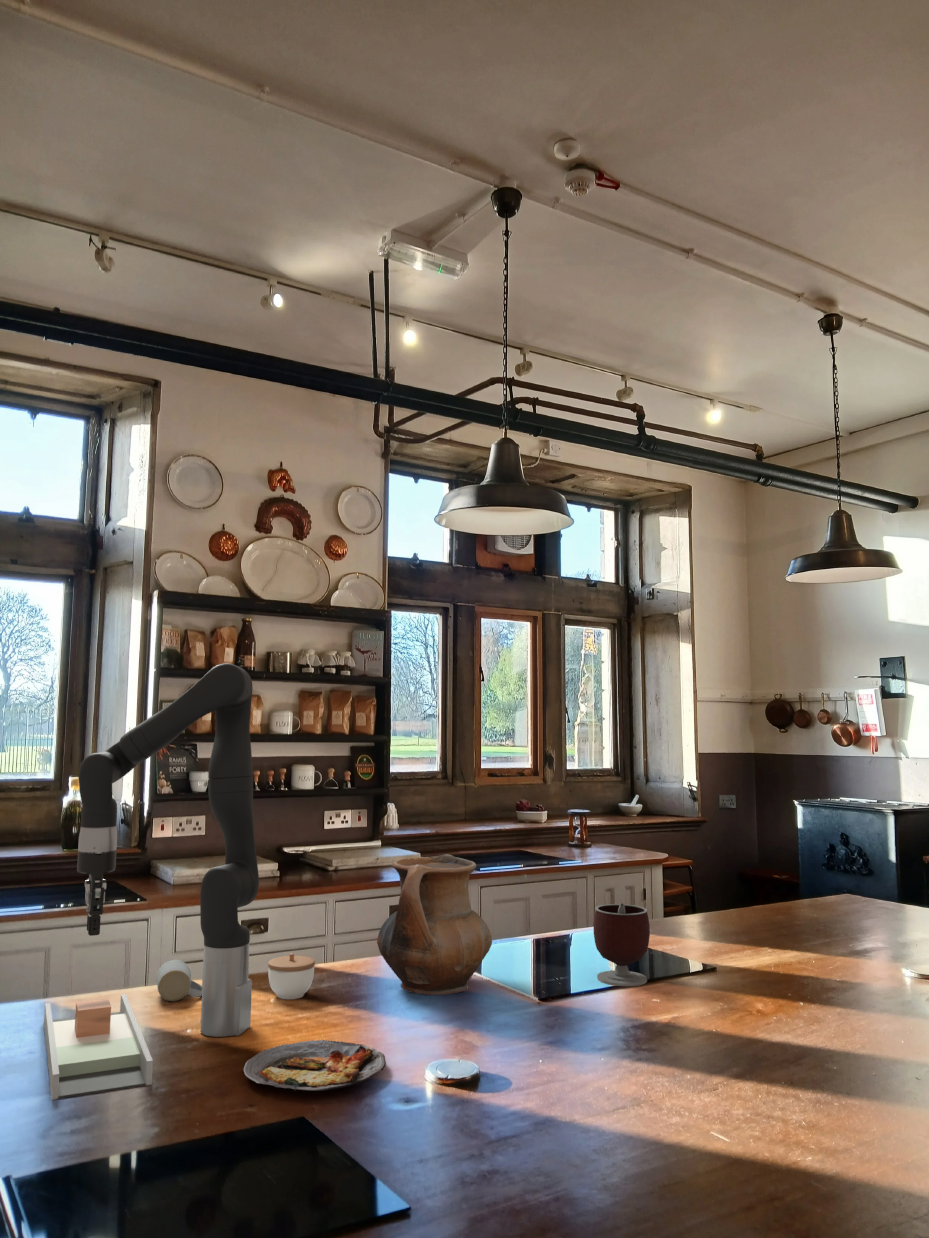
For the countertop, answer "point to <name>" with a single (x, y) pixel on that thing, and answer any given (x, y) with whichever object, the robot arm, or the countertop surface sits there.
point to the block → (92, 1018)
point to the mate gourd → (621, 941)
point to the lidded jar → (291, 975)
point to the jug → (434, 927)
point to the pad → (97, 1056)
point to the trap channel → (64, 1035)
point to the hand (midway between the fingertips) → (93, 932)
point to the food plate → (315, 1065)
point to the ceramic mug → (176, 981)
